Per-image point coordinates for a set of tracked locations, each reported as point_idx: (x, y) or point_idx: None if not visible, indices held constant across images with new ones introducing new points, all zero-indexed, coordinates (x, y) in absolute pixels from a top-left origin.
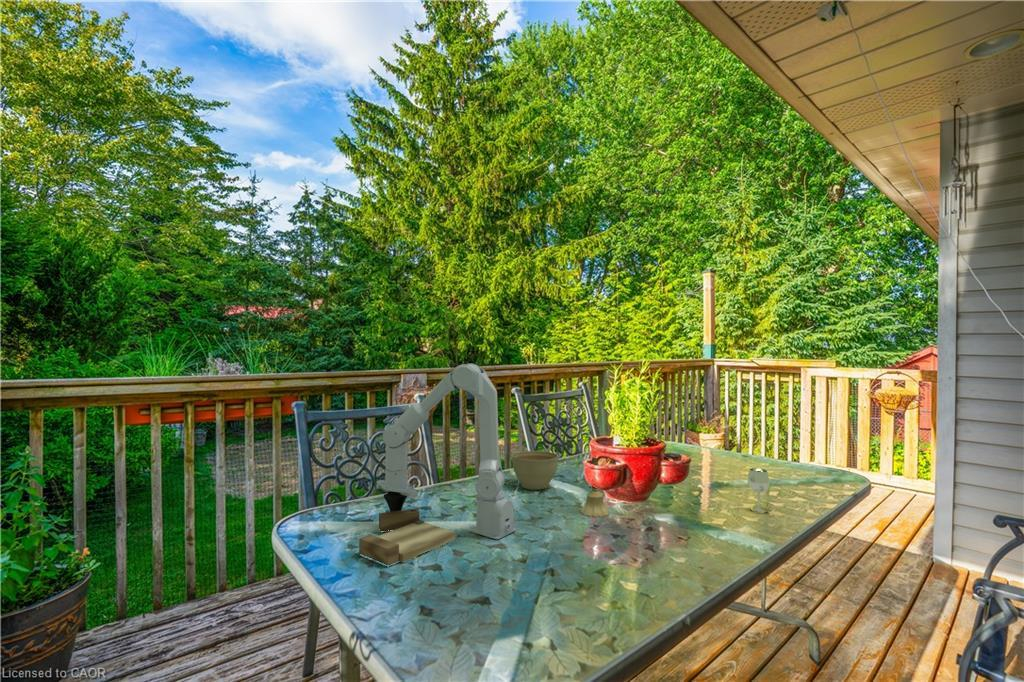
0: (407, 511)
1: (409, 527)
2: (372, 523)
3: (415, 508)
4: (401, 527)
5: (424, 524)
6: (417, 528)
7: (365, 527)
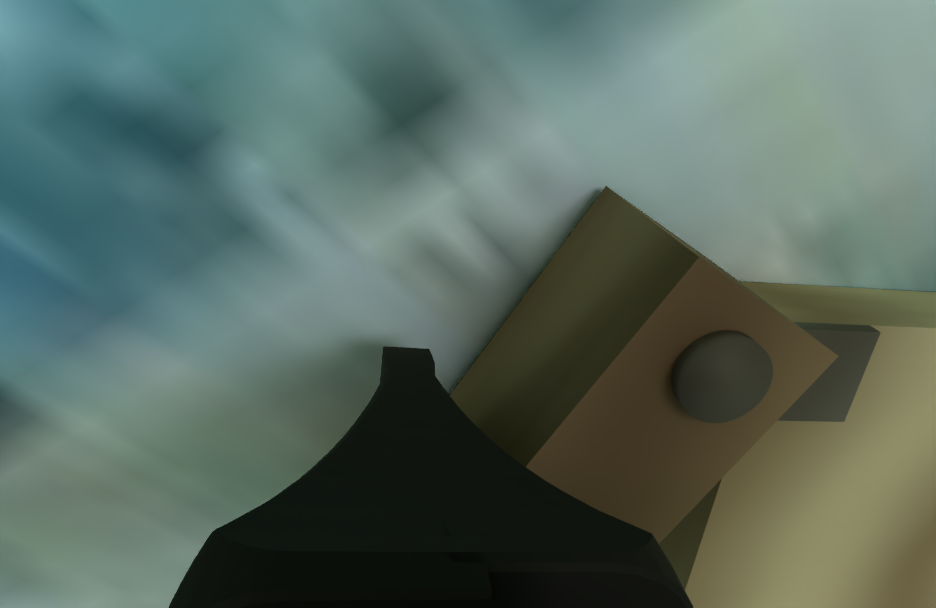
0: (648, 453)
1: (776, 521)
2: (111, 462)
3: (685, 275)
4: (696, 566)
5: (899, 375)
6: (875, 497)
7: (171, 565)
